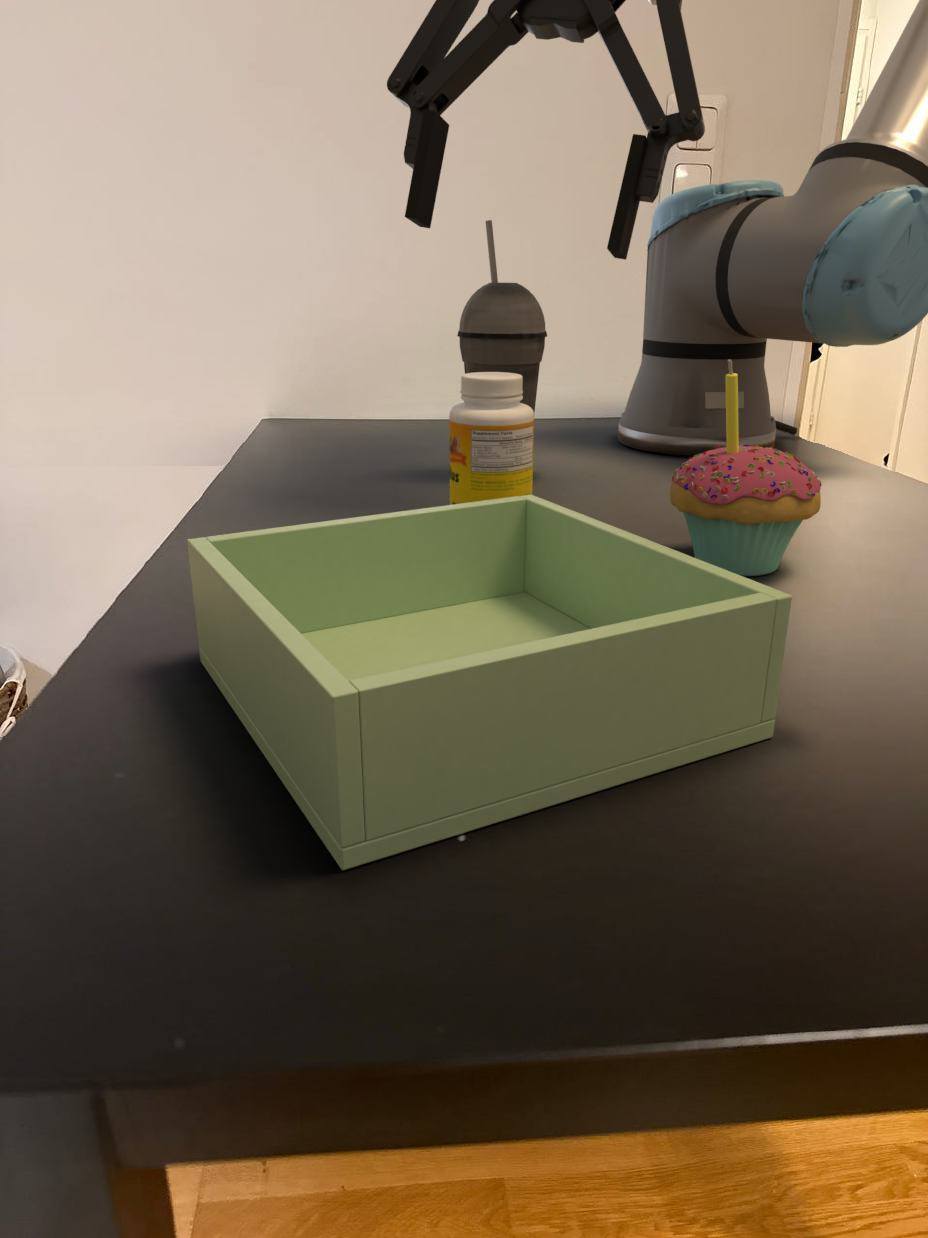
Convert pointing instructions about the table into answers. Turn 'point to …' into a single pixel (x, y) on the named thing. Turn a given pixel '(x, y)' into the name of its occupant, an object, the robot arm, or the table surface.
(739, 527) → the cupcake
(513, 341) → the beverage cup
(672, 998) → the table surface
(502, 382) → the supplement bottle
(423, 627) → the tote
